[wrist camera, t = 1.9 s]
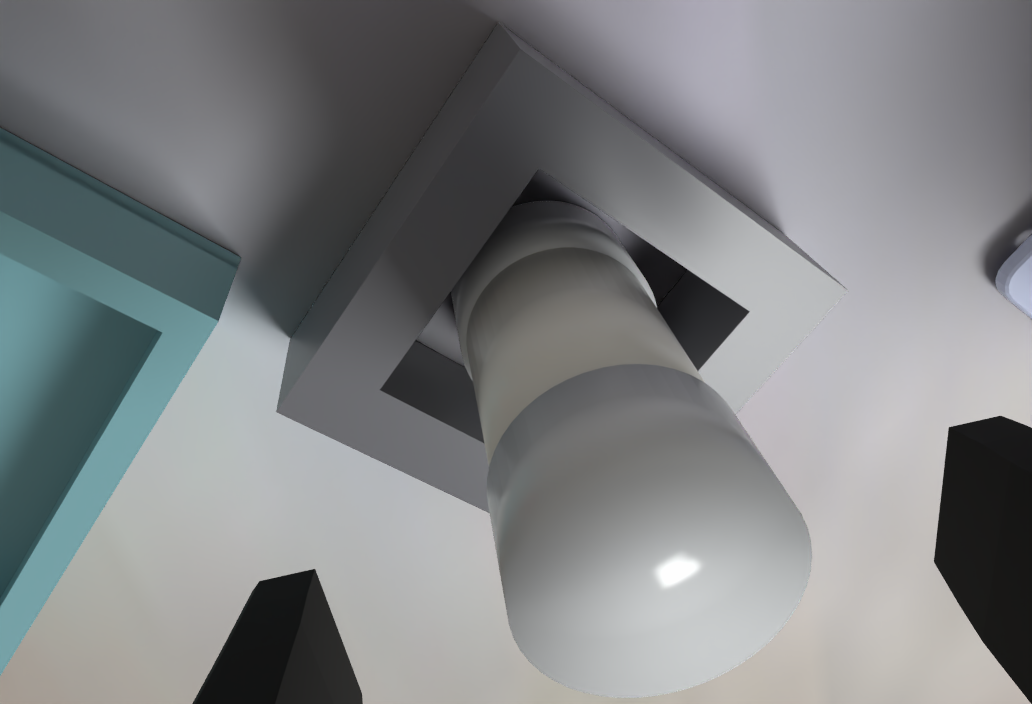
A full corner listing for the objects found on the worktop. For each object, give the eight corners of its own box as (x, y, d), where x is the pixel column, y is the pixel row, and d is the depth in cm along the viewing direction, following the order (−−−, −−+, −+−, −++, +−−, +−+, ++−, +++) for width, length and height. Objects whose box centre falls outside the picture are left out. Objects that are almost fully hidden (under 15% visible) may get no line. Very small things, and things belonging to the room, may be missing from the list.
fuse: (521, 164, 15) (643, 407, 8) (664, 261, 16) (874, 541, 10) (416, 312, 16) (444, 638, 9) (558, 392, 18) (675, 731, 11)
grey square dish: (498, 22, 14) (520, 49, 12) (787, 236, 17) (848, 290, 14) (289, 339, 16) (276, 411, 14) (573, 485, 19) (599, 565, 17)
